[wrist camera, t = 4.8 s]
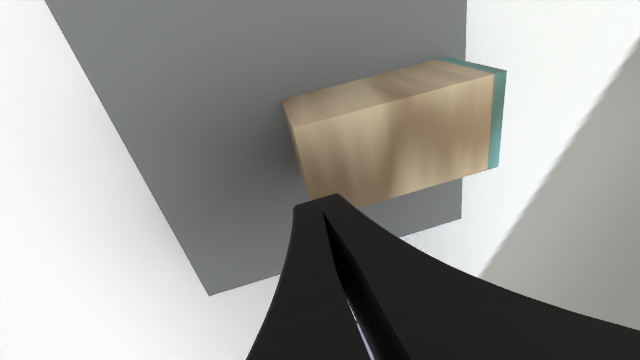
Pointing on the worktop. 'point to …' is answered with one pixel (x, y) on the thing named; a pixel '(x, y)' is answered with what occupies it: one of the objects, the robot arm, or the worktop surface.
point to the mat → (247, 108)
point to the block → (398, 130)
